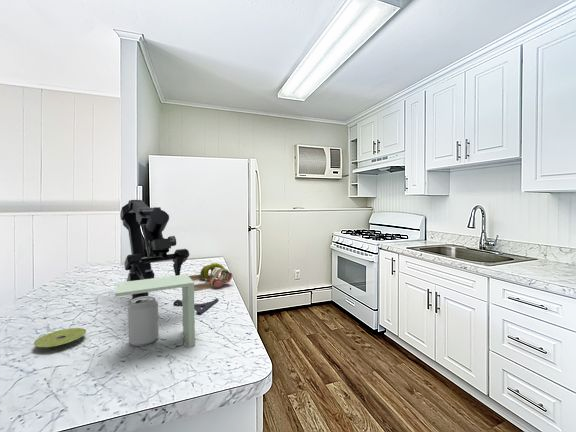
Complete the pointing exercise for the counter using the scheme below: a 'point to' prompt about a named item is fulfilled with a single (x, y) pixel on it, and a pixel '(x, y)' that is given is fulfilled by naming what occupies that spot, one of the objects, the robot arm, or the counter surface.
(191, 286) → the shelf
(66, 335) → the olive green disc
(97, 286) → the counter surface
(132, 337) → the can
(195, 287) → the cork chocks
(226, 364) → the counter surface
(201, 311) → the bracket
